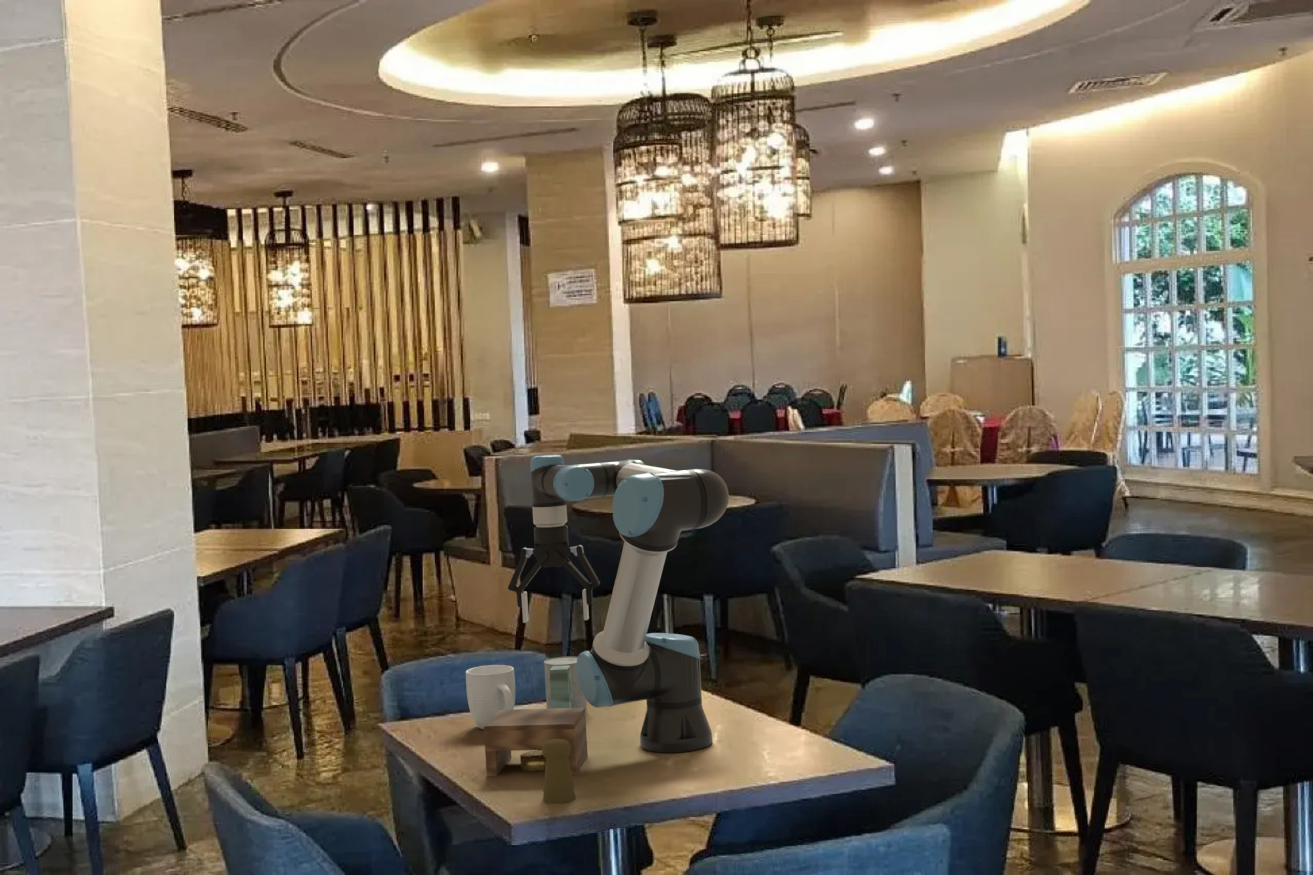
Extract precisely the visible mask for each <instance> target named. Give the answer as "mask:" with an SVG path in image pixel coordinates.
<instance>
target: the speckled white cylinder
mask: <svg viewBox="0 0 1313 875" xmlns="http://www.w3.org/2000/svg"><path fill="white" fill-rule="evenodd" d="M577 658H578V656H571V655H570V656H559V657H558V656H557V657H551V658H547V659H546V660H544V661H543V664H544V682H545V683H544V684H545V685H544V686H545V697H546V698H545V699H546V709H552V705H551V687H550V669H551V668H552V666H571V684H572V702H573V708H585V714H587V713H588V707H587V706H588V705H587V704H588V702H587V700H586V699H585V697H584V695H583V693H582V691H581V688H580V685H579V682H578V677H577V670H576V663H577ZM586 712H587V713H586Z"/></svg>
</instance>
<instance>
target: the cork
mask: <svg viewBox="0 0 1313 875" xmlns="http://www.w3.org/2000/svg"><path fill="white" fill-rule="evenodd" d="M570 752H571V747H570V744H569V742H568V741H567V740H564V739H552V740H548V741H546V742H545V743H544V745H543V755H544V756H545V758H546V767H545V770H544V781H543V783H544V784H543V793H542V794H543V795H542V800H543V802H545V803H548V804H552V805H553V804H555V805H557V804H565V803H569V802H572V801H574V800H576V793H575V788H574V783H573V782H574V781H573V776H572V775H573V774H571V770H570V765H569V759H568V756H569V755H570Z"/></svg>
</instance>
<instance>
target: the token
mask: <svg viewBox="0 0 1313 875" xmlns="http://www.w3.org/2000/svg"><path fill="white" fill-rule="evenodd" d="M519 758H520V759H519V760H520V768H521V770H523V769H524V771H528V770H530V771H529V772H536V771H538V770H539V771H545V767H546V758H545V756H544V755H543V750H529V751H527V752H523V753H522V754H520V755H519ZM532 770H533V771H532Z"/></svg>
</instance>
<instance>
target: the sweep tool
mask: <svg viewBox="0 0 1313 875" xmlns="http://www.w3.org/2000/svg"><path fill="white" fill-rule="evenodd" d="M550 687H551V705H552V708H573V702H572V684H571V666H552V668H551V669H550Z"/></svg>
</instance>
